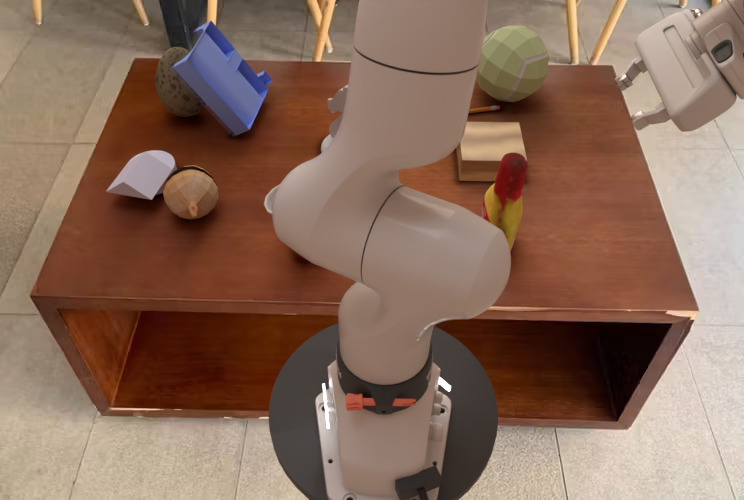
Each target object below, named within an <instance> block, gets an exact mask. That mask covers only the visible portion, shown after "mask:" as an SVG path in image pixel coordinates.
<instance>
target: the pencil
mask: <svg viewBox="0 0 744 500" xmlns="http://www.w3.org/2000/svg"><path fill="white" fill-rule="evenodd" d="M500 109H501V106H500V105H499V104H498V105H490V106H481V107H474V108H470V109H469V113H468V114H474V113H483V112H491V111H498V110H500Z"/></svg>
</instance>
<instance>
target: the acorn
mask: <svg viewBox="0 0 744 500" xmlns="http://www.w3.org/2000/svg"><path fill="white" fill-rule="evenodd" d="M163 189H164V191H163V193H162V192H161V194H163V199H164V203H165V204H166V206H167V207H168V208H169V210H170V211H171V212H172V213H173V214H175V215H176V216H177V217H179V218H181V219H185V220H195V219H196V220H197V219H200V218H203V217H205V216H207V215H208V214H209V213H211V212H212V211H213V209H214V208H215V207H216V205H217V203H218V200H219V197H220V194H219V187H218V184H217V182H216V180H215V179H214V177H213V176H212V174H210V173H209V172H208V171H207V170H205V169H204V168H203V167H200V166H198V165H195V164H193V165H184V166H181V167H179V168H177V170H175V171H173V172H172V173H171V175H170V176H169V177H168V178H167V179H166V182H165V185H164V188H163Z"/></svg>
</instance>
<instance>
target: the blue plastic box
mask: <svg viewBox="0 0 744 500" xmlns="http://www.w3.org/2000/svg"><path fill="white" fill-rule="evenodd" d="M194 33H196V34H197V35H198V36H199V38H198V40H197V42H196V43H195V45H194V46H193V48H192V49H191V50H190V53H189V54H188V55H187V56H186V57H184V58H183V59H182V60H181V61H179V62H177V63H176V64H175V65H174V66H171V67H173V68H174V69H175V70H176V71H177V73H178V74H179V75H180V76H181V77H180V78H183V79H184V80H185V81H186V82H187V83H188V84H189V86H190V87H191V88H192V89H193V90H194V92H196V93H197V94H198V95H199V96H200V97H201V98H202V100H203V101H204V102H205V103H206V104H207V105H206V106H207V107H205V108H206V109H207V110H208V111H209V113H211V112H212V113H211V114H212V115H215V116H216V117H217V118H216V120H217V121H219V120H220V121H221V122H219V123H220V125H221V126H222V127H224V128H226V130H229V131H228V134H231V133H232V134H233V137H236V136H238V135H241V134H244V133H245V132H247V131H250V130H251V128H252V126H253V124H254V121H255V119H256V117H257V115H258V113H259V111H260V108H261V107H262V104H263V102H264V100H265V98H266V95H267V93H268V91H269V88H268V87H267V86H268V85H270V84H272V81H273V78H272V77H271V76H270V74H269V73H268V72H267V70H266V69H265V70H263V71H261V72H258V73H256V71H254V70H253V69H252V67H251V66H250V65H249V64H248V62H247V61H246V60H245V59H244V58H243V56H242V55H241V54H240V53H239V52H238V50H237V48H235V47H234V46H233V44H231V42H230V41H229V40H228V39H227V37H226V36H225V35H224V34H223V32H222V31H221V30H220V29H219V28H218V26H216V24H215V23H214V22H213V20H209V21H207V22H205V23H203V24H202V25H200V26H198V27H197V28H195V30H193V32H192V34H194ZM173 71H174V70H173ZM174 72H175V71H174ZM175 73H176V72H175ZM175 73H174V74H175ZM177 73H176V74H177ZM180 78H179V80H180ZM180 81H181V80H180ZM181 82H182V81H181ZM182 83H183V82H182ZM184 83H185V82H184ZM186 85H187V84H186ZM187 86H188V85H187ZM189 86H188V87H189ZM192 93H193V92H192ZM193 95H194V94H193ZM194 96H195V95H194ZM195 97H196V96H195ZM197 97H198V96H197ZM197 97H196V98H197ZM199 99H200V98H199ZM200 100H201V99H200ZM202 100H201V101H200V102H202Z"/></svg>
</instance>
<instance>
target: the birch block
mask: <svg viewBox="0 0 744 500" xmlns="http://www.w3.org/2000/svg"><path fill="white" fill-rule="evenodd" d="M455 149H456V159H457V169H458V179H459V181H460V182H495V181H496V176H497V173H498V169H499V166H500V163H501V160H502V158H503V156H504V155H505V154H507V153H512V152H515V153H519V154H521V155H523V156H524V158H525V159H526V161H527V162H528V156H527V153H526V148H525V144H524V138H523V133H522V130H521V125H520V122H519V121H467V123H466V127H465V132H464V135H463V137H462V140H461V141H460V143H459V144H458V146H457V147H456V148H455Z"/></svg>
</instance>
